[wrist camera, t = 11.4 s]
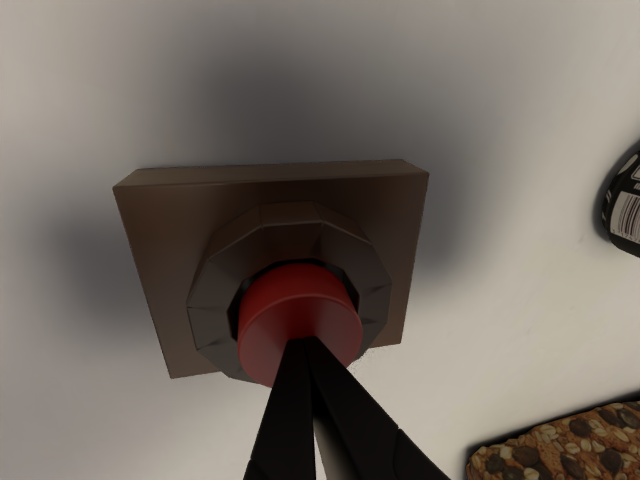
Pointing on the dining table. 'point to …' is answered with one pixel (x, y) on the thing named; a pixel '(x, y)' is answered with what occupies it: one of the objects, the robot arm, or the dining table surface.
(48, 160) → the dining table surface
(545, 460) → the bread
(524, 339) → the dining table surface
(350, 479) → the robot arm
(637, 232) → the beverage can
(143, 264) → the button box
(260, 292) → the button
